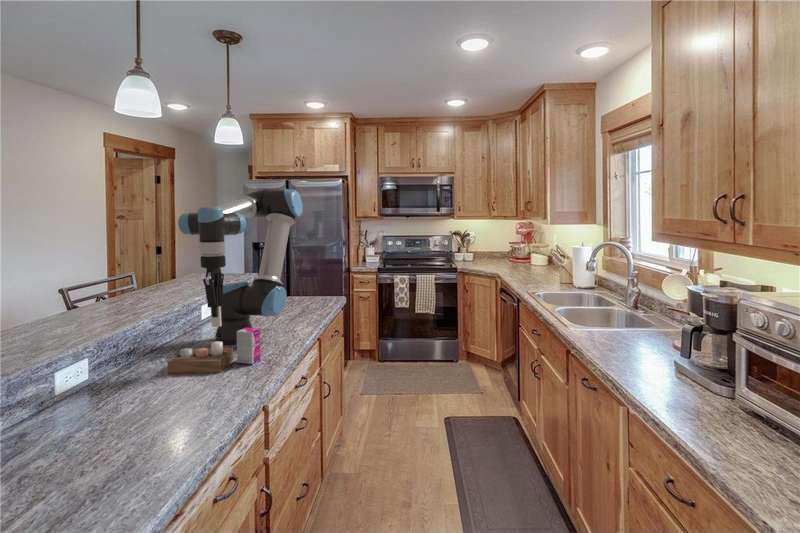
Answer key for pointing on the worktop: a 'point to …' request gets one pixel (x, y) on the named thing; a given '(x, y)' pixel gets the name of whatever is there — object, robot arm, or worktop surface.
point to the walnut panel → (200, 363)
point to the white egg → (217, 348)
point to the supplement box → (248, 346)
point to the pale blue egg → (186, 352)
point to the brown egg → (201, 352)
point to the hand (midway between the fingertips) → (216, 325)
